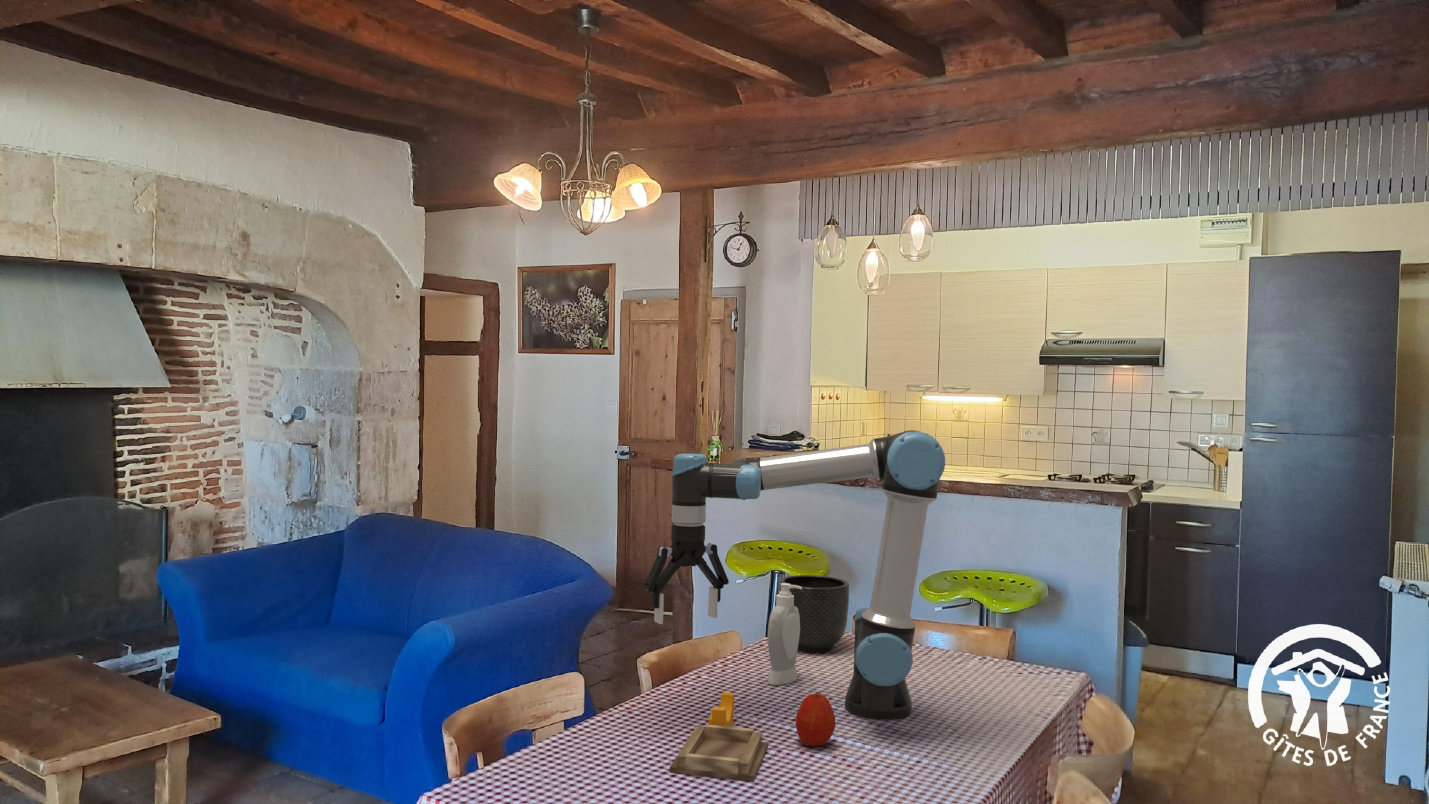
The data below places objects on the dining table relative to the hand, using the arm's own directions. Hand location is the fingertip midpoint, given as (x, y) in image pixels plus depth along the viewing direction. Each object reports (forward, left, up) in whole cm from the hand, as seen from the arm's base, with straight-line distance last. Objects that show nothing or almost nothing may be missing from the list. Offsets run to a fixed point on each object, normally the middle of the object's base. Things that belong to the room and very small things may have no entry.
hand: (686, 619), depth 214 cm
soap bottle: (-19, -31, -21) cm, 42 cm away
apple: (-30, +10, -21) cm, 38 cm away
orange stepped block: (-9, +7, -22) cm, 25 cm away
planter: (-22, -65, -21) cm, 72 cm away
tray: (-13, +23, -21) cm, 34 cm away
